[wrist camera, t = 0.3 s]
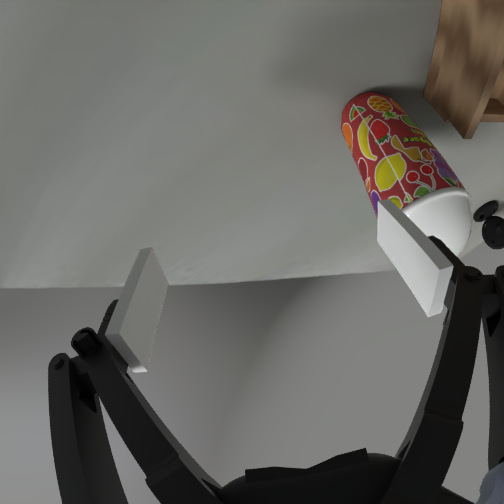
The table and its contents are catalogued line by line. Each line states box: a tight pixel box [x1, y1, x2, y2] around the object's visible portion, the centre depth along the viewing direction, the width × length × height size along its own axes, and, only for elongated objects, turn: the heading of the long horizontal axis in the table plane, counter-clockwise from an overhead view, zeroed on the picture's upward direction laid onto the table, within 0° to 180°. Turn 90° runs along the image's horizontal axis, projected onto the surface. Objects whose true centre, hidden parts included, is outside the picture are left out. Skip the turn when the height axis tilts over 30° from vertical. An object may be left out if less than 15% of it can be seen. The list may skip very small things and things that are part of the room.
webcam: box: [473, 201, 504, 249], centre depth 49 cm, size 8×8×10 cm
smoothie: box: [341, 92, 471, 257], centre depth 22 cm, size 8×8×20 cm
